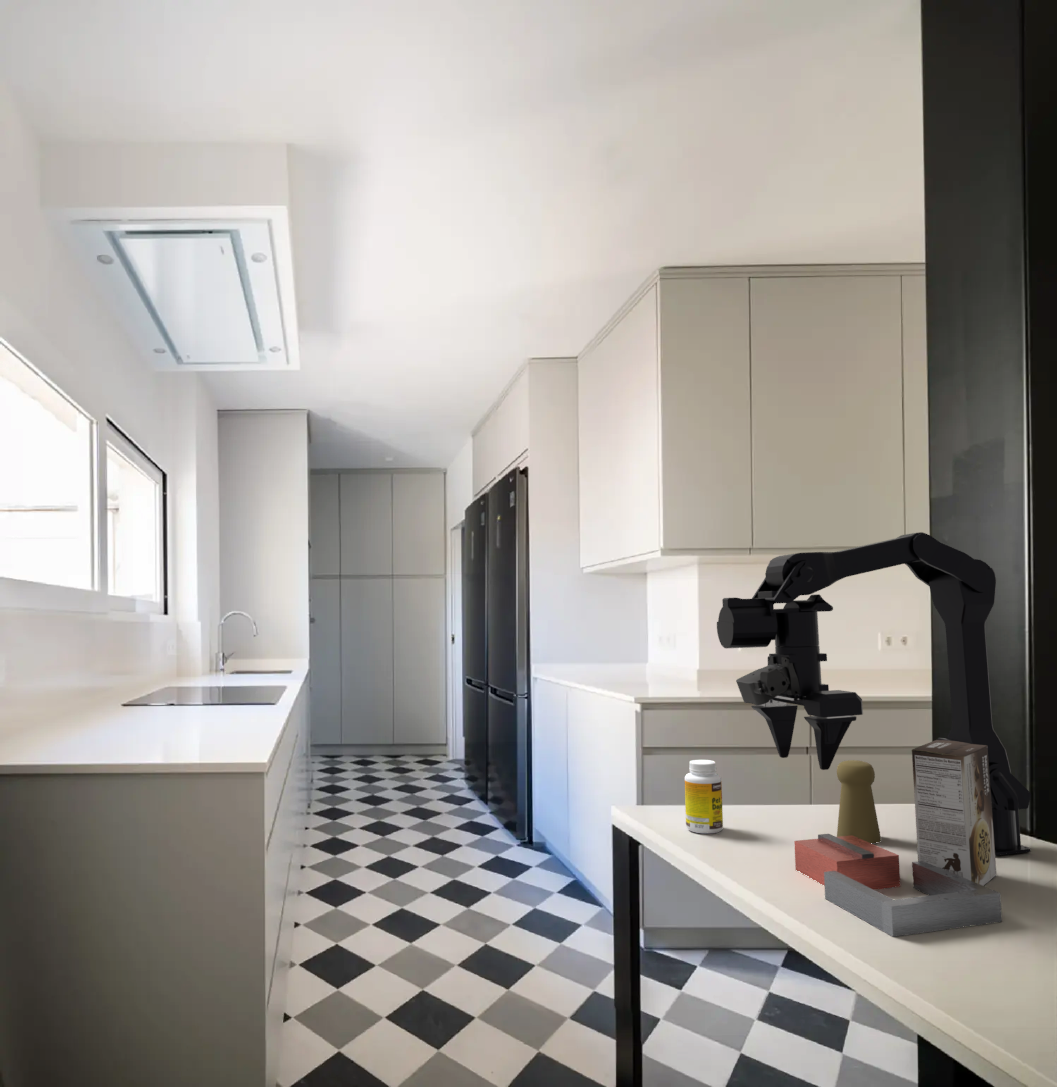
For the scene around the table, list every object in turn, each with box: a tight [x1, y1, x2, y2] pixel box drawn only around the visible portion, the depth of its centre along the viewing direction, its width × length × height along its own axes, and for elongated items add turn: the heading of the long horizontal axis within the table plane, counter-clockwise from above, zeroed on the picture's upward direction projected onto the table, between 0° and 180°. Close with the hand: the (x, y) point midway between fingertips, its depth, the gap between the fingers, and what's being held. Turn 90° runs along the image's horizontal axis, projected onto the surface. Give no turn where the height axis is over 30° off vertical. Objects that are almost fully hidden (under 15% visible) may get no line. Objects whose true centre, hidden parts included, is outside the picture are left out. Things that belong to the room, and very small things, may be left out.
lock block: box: [794, 833, 901, 891], centre depth 101 cm, size 8×9×4 cm
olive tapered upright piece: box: [836, 759, 882, 844], centre depth 118 cm, size 6×6×11 cm
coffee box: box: [911, 739, 997, 886], centre depth 100 cm, size 9×6×16 cm
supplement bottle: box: [684, 759, 724, 835], centre depth 124 cm, size 6×6×10 cm
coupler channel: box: [824, 860, 1003, 938], centre depth 90 cm, size 14×12×3 cm
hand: (803, 763), depth 109 cm, fingers open, 9 cm apart
